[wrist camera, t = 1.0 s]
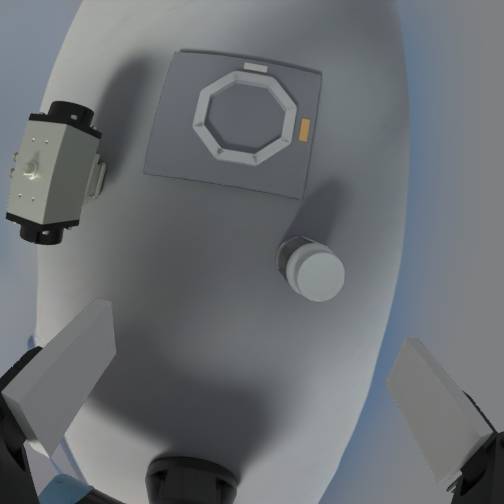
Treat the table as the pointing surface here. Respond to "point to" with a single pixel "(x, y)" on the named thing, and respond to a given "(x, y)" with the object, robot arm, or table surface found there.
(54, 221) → the pneumatic valve
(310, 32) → the table surface
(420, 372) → the robot arm
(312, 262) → the pill bottle
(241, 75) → the slate board
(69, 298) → the table surface
